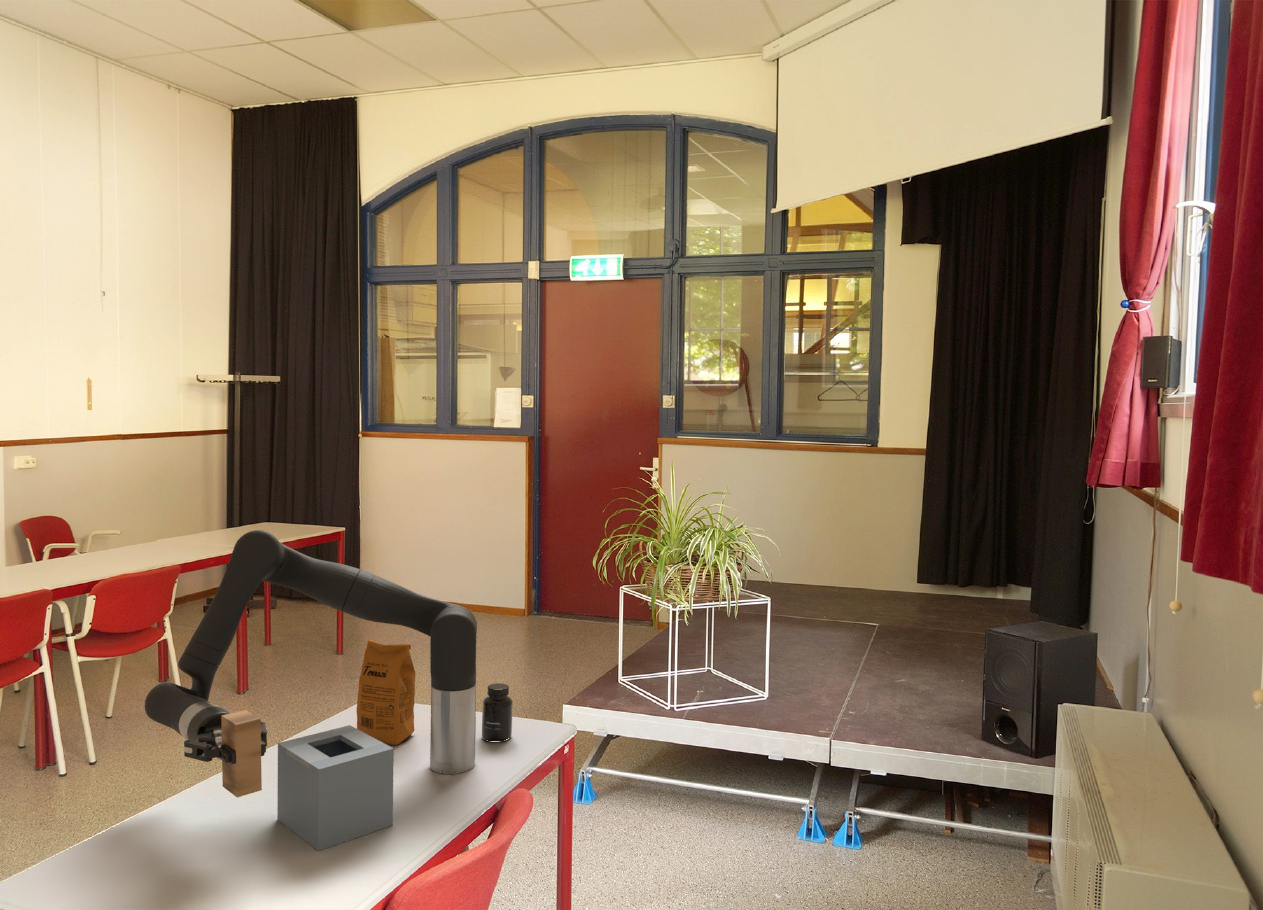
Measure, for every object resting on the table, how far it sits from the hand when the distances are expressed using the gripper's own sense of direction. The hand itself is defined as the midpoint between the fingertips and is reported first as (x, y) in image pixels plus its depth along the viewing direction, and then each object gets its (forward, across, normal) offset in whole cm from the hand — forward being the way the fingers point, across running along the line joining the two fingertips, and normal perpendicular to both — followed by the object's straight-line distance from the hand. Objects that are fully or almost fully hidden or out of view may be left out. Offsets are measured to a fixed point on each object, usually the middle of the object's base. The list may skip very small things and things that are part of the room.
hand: (248, 754), depth 146 cm
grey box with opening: (-3, +16, +18) cm, 25 cm away
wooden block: (-3, 0, +6) cm, 7 cm away
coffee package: (-35, +45, +18) cm, 60 cm away
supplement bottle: (-18, +63, +19) cm, 69 cm away
